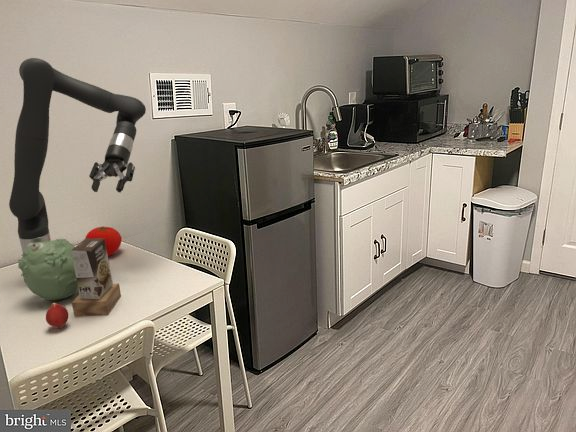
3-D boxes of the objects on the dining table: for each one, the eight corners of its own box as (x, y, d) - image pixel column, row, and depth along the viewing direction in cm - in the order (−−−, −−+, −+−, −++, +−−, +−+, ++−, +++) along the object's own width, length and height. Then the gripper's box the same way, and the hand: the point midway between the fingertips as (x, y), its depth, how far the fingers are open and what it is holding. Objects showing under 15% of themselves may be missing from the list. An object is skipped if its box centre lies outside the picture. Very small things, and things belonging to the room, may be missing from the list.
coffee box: (100, 299, 139) (90, 251, 133) (79, 299, 140) (69, 250, 134) (114, 284, 147) (105, 237, 141) (94, 283, 148) (85, 237, 142)
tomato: (89, 251, 190) (84, 224, 186) (124, 247, 193) (120, 220, 189) (84, 263, 178) (79, 234, 175) (121, 258, 181) (117, 230, 178)
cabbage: (94, 299, 149) (83, 240, 143) (28, 316, 141) (13, 254, 135) (87, 281, 163) (77, 227, 156) (26, 295, 154) (13, 238, 148)
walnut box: (74, 317, 139) (71, 302, 138) (90, 298, 151) (87, 284, 149) (108, 316, 139) (105, 301, 138) (121, 297, 151) (118, 283, 149)
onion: (53, 323, 136) (47, 298, 134) (73, 321, 137) (68, 296, 134) (45, 333, 131) (39, 308, 128) (66, 332, 131) (60, 306, 129)
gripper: (95, 143, 157) (80, 184, 150) (134, 143, 154) (121, 185, 147) (106, 156, 164) (92, 196, 156) (143, 156, 161) (131, 197, 154)
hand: (106, 191), depth 152 cm, fingers open, 8 cm apart
